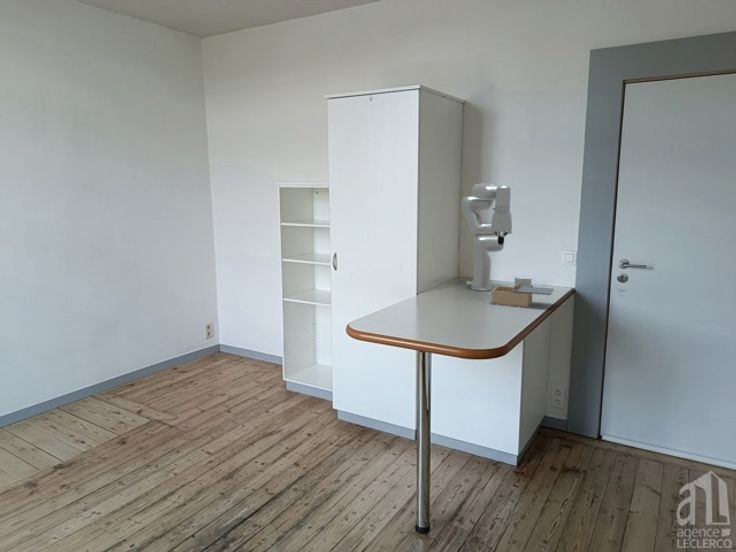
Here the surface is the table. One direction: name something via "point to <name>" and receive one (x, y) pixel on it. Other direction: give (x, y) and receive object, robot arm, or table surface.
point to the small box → (523, 281)
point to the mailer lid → (531, 290)
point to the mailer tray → (510, 297)
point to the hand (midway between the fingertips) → (500, 244)
